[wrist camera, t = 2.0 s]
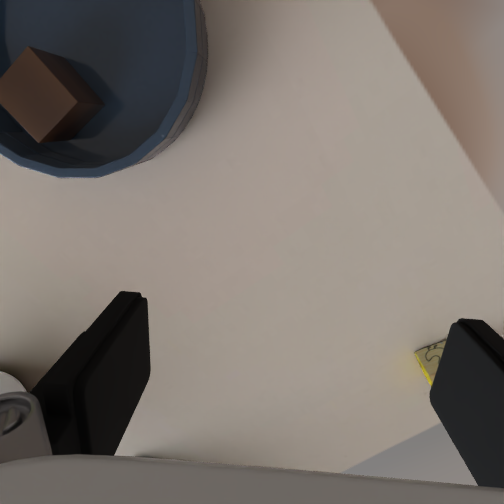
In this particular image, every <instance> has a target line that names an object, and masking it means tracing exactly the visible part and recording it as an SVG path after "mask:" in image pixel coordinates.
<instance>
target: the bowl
mask: <svg viewBox="0 0 504 504" xmlns="http://www.w3.org/2000/svg"><path fill="white" fill-rule="evenodd" d="M27 46H30V47H33V48H36V49H39V50H43V51H46V52H49V53H52V54H55V55H58V56H61V57H64V58H65V59H66V60H67V61H68V62H69V63H70V65H71V66H72V67H73V68H74V69H75V70H76V72H77V73H78V74H79V75H80V76H81V77H82V78H83V80H84V81H85V82H86V83H87V84H88V85H89V86H90V88H91V89H92V90H93V91H94V92H95V93H96V95H97V96H98V97H99V98H100V99H101V100H102V101H103V103H104V104H105V106H104V107H103V108H102V109H101V110H100V111H99V112H98V113H97V114H96V115H95V116H94V117H93V118H92V119H91V120H90V121H89V122H88V123H87V124H86V125H85V126H84V127H83V128H82V129H81V130H80V131H79V132H78V133H77V134H76V135H75V136H74V137H73V138H72V139H71V140H67V141H56V142H46V143H38V142H37V141H36V140H35V139H34V138H33V137H32V136H31V135H30V134H29V133H28V132H27V131H26V130H25V129H24V128H23V126H22V125H21V124H20V123H19V122H18V121H17V120H16V119H15V118H14V117H13V116H12V115H11V114H10V113H9V112H8V111H7V110H6V109H5V108H4V107H3V106H2V105H1V104H0V154H1V155H3V156H4V157H6V158H7V159H9V160H10V161H12V162H14V163H15V164H17V165H19V166H21V167H24V168H27V169H31V170H34V171H37V172H40V173H44V174H47V175H50V176H54V177H57V178H99V177H103V176H106V175H109V174H111V173H114V172H117V171H120V170H123V169H126V168H129V167H131V166H134V165H137V164H140V163H142V162H145V161H148V160H151V159H152V158H154V157H155V156H156V155H157V154H159V153H160V152H162V151H164V150H165V149H166V148H167V147H168V146H169V145H170V144H172V143H173V142H174V141H175V140H176V139H177V138H178V137H179V135H180V134H181V133H182V132H183V131H184V129H185V127H186V126H187V124H188V123H189V121H190V120H191V118H192V116H193V114H194V112H195V110H196V108H197V106H198V104H199V101H200V98H201V95H202V91H203V88H204V84H205V78H206V73H207V63H208V35H207V28H206V22H205V14H204V11H203V8H202V4H201V1H200V0H0V78H1V77H2V76H3V75H4V73H5V72H6V71H7V70H8V69H9V67H10V66H11V65H12V64H13V63H14V62H15V60H16V59H17V58H18V57H19V56H20V55H21V53H22V52H23V51H24V50H25V49H26V47H27Z"/></svg>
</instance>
